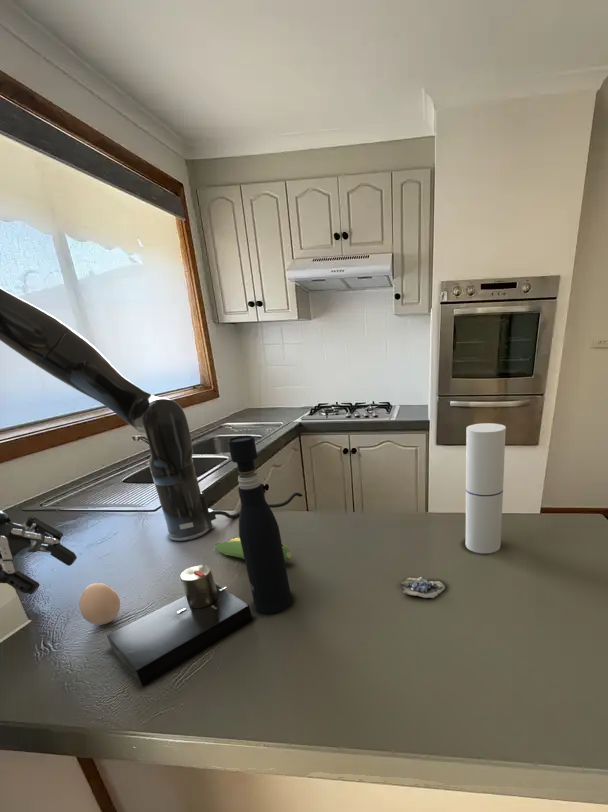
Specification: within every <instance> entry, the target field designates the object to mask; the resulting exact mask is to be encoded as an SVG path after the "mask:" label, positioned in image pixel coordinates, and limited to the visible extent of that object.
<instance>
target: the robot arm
mask: <svg viewBox="0 0 608 812" xmlns="http://www.w3.org/2000/svg"><path fill="white" fill-rule="evenodd" d="M0 342H2V343H3V344H5V345H6V346H7V347H9V348H10V349H11V350H13V351H15V352H16V353H18V354H19V355H20V356H22V357H23V358H24V359H26V360H28V361H29V362H31V363H32V364H34V365H35V366H37V367H38V368H40V369H41V370H43V371H44V372H46V373H48V374H49V375H50V376H53V377H54V378H56V379H58V380H59V381H60V382H62V383H64V384H66V385H67V386H69V387H71V388H73V389H75V390H76V391H78V392H80V393H82V394H83V395H86V396H87V397H89V398H91V399H93V400H95V401H96V402H99V403H100V404H102V405H104V406H105V407H107V409H109V410H111V411H112V412H113V413H115V414H116V415H117V416H118V417H119V418H121V419H122V420H123V421H125V422H126V423H127V424H129V426H131V427H132V428H134V429H135V430H136V431H137V432H138V433H140V434H141V435H143V436H144V437H146V440H147V443H148V446H149V451H150V457H149V458H148V461H147V462H148V467H149V470H150V473H151V477H152V480H153V483H154V487H155V490H156V493H157V497H158V500H159V503H160V508H161V510H162V511H161V512H162V514H163V517H164V521H165V524H166V528H167V532H168V536H169V538H170V540H172V541H176V542H183V541H190V540H195V539H197V538H200V537H201V536H204V535H206V534H207V533H209V531H210V530H212V529H214V527H213V522H212V521H215V520H216V519H217V516H219V515H220V516H224V517H226V518H228V519H236V518H239V516H240V510H238V511H237V512H236V513H234V514H230V513H228V512H227V511H223V510H214V509H212V508H209V507H208V503H207V499H206V495H205V493H204V492H202V491H201V488H200V484H199V480H198V477H197V473H196V469H195V464H194V460H193V454H194V448H193V442H192V437H191V432H190V426H189V422H188V419H187V416H186V413H185V411H184V409H183V407H182V406H181V405H180V404H179V403H178V402H177V401H175V400H173V399H172V398H171V399H170V398H166V397H159V396H155V395H153V394H151V393H149V392H147V391H145V390H144V389H142V388H140V387H139V386H138V385H136V384H135V383H134V382H131V381H130V380H129V379H127V378H126V377H124V376H123V375H122V374H121V373H120V372H119V371H118V370H117V369H116V367H114V365H112V364H111V362H110V361H109V360H108V358H106V357H105V356H104V354H102V352H100V350H98V349H97V348H96V347H95V346H94V345H93V344H92V343H90V342H89V341H88V340H87V339H86V338H84V337H83V336H82V335H81V334H79V333H77V332H76V331H75V330H73V329H72V328H71V327H69V326H68V325H66V324H65V323H63V322H62V321H61V320H59V319H57V318H56V317H55V316H53V315H51V314H50V313H48V312H46V311H44V310H42V309H41V308H39V307H37V306H35V305H34V304H31V303H29V302H28V301H26V300H24V299H22V298H19V297H18V296H16V295H14V294H12V293H10V292H8V291H7V290H5V289H3V288H2V287H0ZM295 497H299V498H300V497H304V496H303V494H302V493H300V492H297V491H296V492H293V493H292V494H291V495H290V496H289V497H288V498H287V499H286V500H284V501H283V502H280V503H267V504H268V505H269V507H270V509H272V508H273V509H274V508H275V509H276V508H282V507H284V506H287V505H288V504H290V503H291V501H292V500H293V499H294V498H295ZM63 536H64V534H63V532H61V531H59V529H57V528H54V526H51V525H50V524H48V523H46V522H45V521H43V520H41V519H40V518H37V516H36V517H35V516H31V515H30V516H28V517H27V519H26V521H24V522H23V523H21V524H19V523H15V522H13V521H12V520H11V518H10V517H9V515H8V514H7V513H6V512H4V511H3V510H1V509H0V584H6V585H9V586H11V587H12V588H14V589H15V590H17V591H19V592H21V593H22V594H28V595H33V594H34V593H36V592H37V590H38V589H39V587H40V583H39V582H38V581H36V580H34V579H33V578H31V577H30V576H28V575H27V574H24V573H23V572H21V571H20V570H16V569H15V567H14V564H13V562H14V561H15V560H16V559H17V558H18V557H22V556H24V555H25V554H27V553H37V552H41V553H49V555H50V556H51V557H53V558H55V559H56V560H58V561H59V562H61V563H62V564H65V565H66V566H68V567H69V566H72V565H73V564H74V563H75V562H76V560H77V558H78V556H77V555H76V553H75V552H74V551H72V550H71V549H69V548H68V547H66V546H65V545H63V544H61V540H62V538H63ZM32 541H33V543H32Z"/></svg>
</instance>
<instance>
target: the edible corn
mask: <svg viewBox="0 0 608 812" xmlns="http://www.w3.org/2000/svg"><path fill="white" fill-rule="evenodd" d="M213 548H214V549H215V551H217V552H219V553H221V554H224V555H226V556H230V557H236V558H239V559H243V560H245V559H244V555H243V550H242V546H241V541H240V537H233V538H231V539H229V540H228V541H223V542H219V543H216V544H214V545H213ZM282 548H283V554H284V559H285V563H287V562H288V561H289V560H290V559H291V557H292V553H291V552H290V549H289V548H288V546H287V545H286V544H283V543H282Z"/></svg>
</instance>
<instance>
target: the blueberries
mask: <svg viewBox="0 0 608 812" xmlns="http://www.w3.org/2000/svg"><path fill="white" fill-rule="evenodd" d="M400 585H401V586H400V587H401V588H402V589H403V590H402V593H403V594H405V595H410V596H418V597H422V598H424V599H427V598H431V599H434V598H436V597H438V596H439V594H441V593H442V592H443V591H445V590H446V586H445V585H444V583H442V582H441V581H439V580H435V581H434V580H432V579H431V580H427V578H423V577H422V576H420V577H418V576H417V577H416V576H410V577H407V578H406V579H404V580H403V581H401V582H400Z"/></svg>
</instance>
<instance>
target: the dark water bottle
mask: <svg viewBox="0 0 608 812" xmlns="http://www.w3.org/2000/svg"><path fill="white" fill-rule="evenodd" d="M227 446H228V450H229V455H230V459H231V462H232V463H236V465H237V466H236V467H237V473H238V474H239V475H238V476H237V482H238V486H239V487H238V488H237V491H238V495H239V500H240V509H239V511H240V516H238V536H239V537H238V538H240V541H241V546H242V550H243V555H244V559H243V560H244V563H245V568H246V572H247V577H248V581H249V586H250V591H251V595H252V599H253V604H254V608H255V610H256V611H257V612H258V613H261V614H263V615H271V614H277V613H280V612H282V611H284V610H286V609H287V608H288V607H289V606H290V605H291V603H292V594H291V588H290V582H289V576H288V570H287V565H286V562H285V559H284V554H283V548H282V544H283V543H282V537H281V533H280V527H279V524H278V521H277V518H276V516H275V514H274V512H273V511H272V508H270V507H269V505H268V504H269V503H268V502H267V500H266V497H265V491H264V486H263V484H262V483H261V480H260V475H259V473H258V472H256V471H257V468H256V466H255V460H257V459H258V452H257V448H256V441H255V437H254V436H253V435H238V436H234V437H231V438H229V439H228V440H227Z"/></svg>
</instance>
